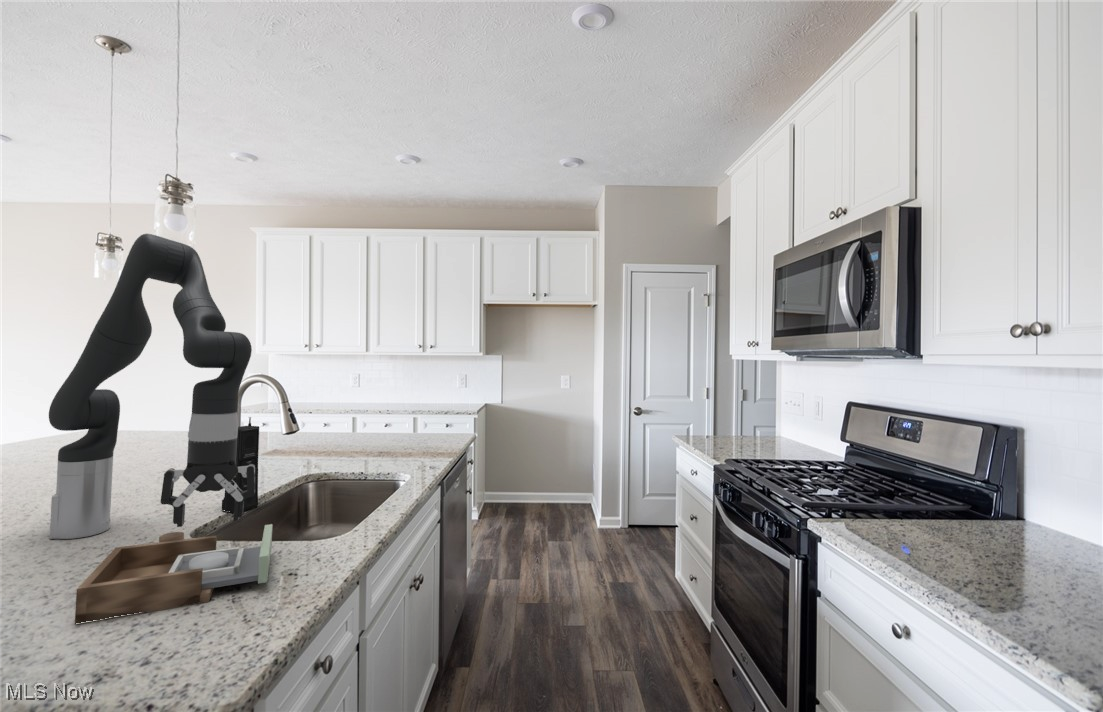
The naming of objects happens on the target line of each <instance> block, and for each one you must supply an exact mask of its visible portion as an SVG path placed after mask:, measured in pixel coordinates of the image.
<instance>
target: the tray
mask: <svg viewBox="0 0 1103 712" xmlns="http://www.w3.org/2000/svg"><path fill="white" fill-rule="evenodd" d="M272 542H273V524H272V523H270V524H264V529H263V534H262V540H261V544H260V546H255V547H248V548H246V547H245V545H244V546H237V547H229V548H222V549H216V550H213V551H205V552H197V553H190V554H182V555H178V557H177V558H176V560H175V562H174V563H173V565H172V567H171V569H170V570H169V572H168V573H172V572H179V571H186V570H189V561H190V560H191V559H192V558H194V557H196V556H199V555H202V554H206V553H212V552H225V553H227V554H228V565H227V566H226V567H224V568H217V569H211V570H204V571H202V590H203V589H209V588H214V589H215V588H221V587H225V586H226V587H227V586H232V585H239V584H240V585H241V584H245V583H251V582H257V584H264V583H268V578H269V577H268V576H269V570H270V562H271V561H270V560H271V554H272V553H271V552H272V547H273V546H272Z"/></svg>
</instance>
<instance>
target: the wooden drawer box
mask: <svg viewBox="0 0 1103 712" xmlns="http://www.w3.org/2000/svg"><path fill="white" fill-rule="evenodd" d="M217 536H218V535H209V536H200V537H193V538H184V539H183V540H174V541H166V542H159V541H158V542H157V541H156V542H151V543H150V542H149V543H144V544H143V543H142V544H134V545H125V546H115V548H114V549H113V550H112V551H111V552H110V553H109V554H108V555H107V556H106V557H105V558H104V559H103V561H101V562H100V563H99V564H98V566H97V567H96V568H95V569H94V570H93V571H91V573H90V575H88V576H87V577H86V578H85V580H84V581H83V582H82V583H81V584H80V585H79V586H78V587H77V588H76V593H75V594H76V597H75V613H74V615H75V616H74V625H75V624H76V623H81V622H86V621H93V620H100V619H105V618H109V617H114V616H121V615H127V614H134V613H139V612H146V613H149V612H148V611H152V612H157V611H156V610H158V611H163V610H168V609H173V608H174V607H175V608H180V607H185V606H192V605H198V604H202V603H203V604H204V603H208V602H210V600H211V597H212V595H213V592H214V589H215V588H209V589H203V590H202V571H203V568H200V569H193V570H186V571H179V572H172V573H168V572H169V570H170V569H171V567H172V565H173V563H174V562H175V560H176V558H177V557H178V555H182V554H190V553H197V552H205V551H213V550H217V539H218V537H217ZM100 621H101V620H100Z"/></svg>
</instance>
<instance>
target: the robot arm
mask: <svg viewBox="0 0 1103 712" xmlns="http://www.w3.org/2000/svg"><path fill="white" fill-rule="evenodd" d="M206 277H207V276H206V273H205V271H204V266H203V263H202V260H201V258H200V255H199V253H198V252H197V250H195V248H193V247H192V246H190V245H189V244H185V243H182V242H179V241H175V240H173V239H172V240H171V239H168V238H165V237H162V236H159V235H156V234H151V233H144V234H140V236H138V238H136V239H135V240H134V242H133V243H132V245H131V248H130V250H129V252H128V255H127V257H126V259H125V262H124V264H123V268H122V270H121V273H120V275H119V277H118V281H117V283H116V285H115V288H114V290H113V292H112V294H111V297H110V299H109V300H108V303H107V304H106V306H105V308H104V310H103V311H102V313H101V315H100V316H99V319H98V320H97V322H96V324H95V325H94V328H93V330H92V332H91V334H90V336H89V337H88V340H87V343H86V345H85V347H84V349H83V351H82V353H81V355H80V356H79V358H78V359H77V362H76V364H75V365H74V367H73V368H72V370H71V371H70V373H69V375H68V377H67V378H65V381H63V383H62V385H61V386H60V387H59V389H58V390H57V391H56V393H55V395H54V396H53V397H54V398H53V399H52V401H51V404H50V406H49V409H48V410H49V411H48V420H49V424H50V425H51V427H53V428H54V429H56V430H58V431H67V432H68V431H71V432H73V431H82V430H87V432H86V434H85V435H84V436H82V437H80V438H79V439H77V440H76V441H73V442H71V443H68V444H66V445H64V446H63V445H62V447H60V448H59V450H58V453H57V465H56V466H57V469H56V489H55V494H54V495H52V496H51V502H50V520H49V521H50V523H49V524H50V525H49V538H48V539H49V540H52V539H54V540H55V539H57V540H70V539H71V540H72V539H79V538H86V537H91V536H95V535H98V534H101V533H104V532H106V531H108V530H109V529H110V527H111V525H110V523H111V508H112V507H111V506H112V490H113V489H112V487H113V467H114V451H115V449H116V448H115V447H116V445H117V440H118V433H119V431H118V430H119V423H120V415H121V404H120V403H121V402H120V399H119V396H118V393H116V392H115V391H114V390H111V389H106V388H105V389H104V388H102V389H97V388H98V387H99V386H100V385H101V384H102V383H104V382H105V381H106V380H108V379H109V378H111V377H112V376H114V375H116V374H117V373H119V372H121V371H122V370H124V369H125V368H127V367H129V365H131V364H132V363H134V362H135V361H137V359H138V358H139V357H140V356H141V354H142V353H143V351H144V350H145V347H146V346H147V343H148V341H149V340H150V338H151V336H152V332H153V329H152V323H151V320H150V317H149V316H150V315H148V312H147V309H146V306H145V303H144V300H143V293H142V292H143V288H144V286H145V283H146V281H147V280H148V279H151V280H155V281H159V282H163V283H169V284H173V285H175V284H176V285H178V286H180V288H181V289H180V290H179V291H178V292H177V293H176V295H175V297H174V299H173V303H172V309H173V313H174V316H175V318H176V319H177V322H178V323H179V326H180V328H181V329H182V335H183V344H182V345H183V346H182V354H183V355H182V356H183V359H184V360H185V361H186V362H187V363H188V364H189V365H191V366H193V367H194V368H200V369H222V371H221V373H220V374H219V376H217V377H216V378H213V379H208V380H203V381H200V382H199V381H198V382H197V383H195V385H194V386H193V389H192V401H191V402H192V403H191V404H192V405H191V414H190V415H191V416H190V421H189V426H188V432H187V438H188V441H187V455H186V456H187V459H186V462H187V463H186V467H185V468H184V469H175V468H174V467H173V468H168V469H167V470H166V471H165V472H164V474H163V479H162V481H163V482H162V486H161V487H162V488H161V494H160V496H161V497H160V504H161V505H170V506H172V508H173V511H172V512H173V514H172V516H173V517H172V523H173V525H176V527H177V528H180V527H181V528H182V527H183V526H184V525H185V515H186V503H185V501H186V500H187V499H188V498H189V497H190V496H191V495H192V494H193V493H194V491H197V492H199V493H206V492H209V491H210V492H220V491H221V490H224V491H225V490H226V491H227V492H228V493H229V494H231V495H232V496H233V497H234V499H235V502H234V513H233V522H238V521H239V519H240V518H242V517H243V514H244V511H243V508H244V500H245V499H246V498H249V497H253V496H254V494H255V465H254V464H249V465H248V466H241V467H238V466H237V463H236V454H237V435H238V427H239V418H238V407H239V406H238V403H239V391H240V387H241V385H242V381H243V379H244V376H245V373H246V370H247V368H248V365H249V362H250V360H251V357H252V351H253V350H252V345H251V344H252V343H251V342H250V339H249V338H248V337H247V336H246V335H245V334H244V333H241V332H237V331H225V330H226V327H227V324H226V323H227V322H226V321H225V320H226V319H225V318H224V316H223V313H222V312H221V311H220V309H219V308H218V306H217V304H216V302H215V301H214V299H213V297H212V294H211V293H210V289H209V285H208V281H207V278H206ZM238 472H240V473H241V474H242V476H243V477H245V478H246V477H247V490H246V491H243V492H242V490H241V489H240V488H239V487H238V485H237V484H236V483H235V482H234V481H233V480H232V479H233V478H234V477H235V476H236V475H237V473H238ZM180 477H183V479H185V480H186V481H187V482H188V486H187V487H186V488H185V489H184V490H183V491H182V492H181V493H180V494H179V495H178V496H176V495H174V494H173V492H174V486H175V483H176V482H178V481H179V479H180Z"/></svg>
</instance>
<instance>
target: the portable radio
mask: <svg viewBox="0 0 1103 712" xmlns="http://www.w3.org/2000/svg"><path fill="white" fill-rule="evenodd" d="M248 418H249V421H248V423H247V424H248V425H242V426H238V435H237V454H236V463H237V466H238V467H241V466H248V465H249V464H254V465H255V494H254V496H253V497H249V498H246V499H245V500H244V508H243V512H245V511H248V510H251V509H254V508H257V507H258V505H259V450H260V449H259V447H260V446H259V445H260V426H257V425H252V423H251V419H252V417H251V416H248ZM232 480H233V481H234V482H235V483H236V484H237V485H238V487H239V488H240V489H241V490H242V492H243V491H246V490H247V477H246V478H245V477H243V476H242V474H241V473H240V472H238V473H237V475H236V476H235V477H234V478H233V479H232ZM234 502H235V499H234V497H233V496H232V495H231V494H229V493H228V492H227V491H226V490H225V489H224V497H223V499H222V500H221V511H222V510H225V511H230V512H232V513H233V514H234ZM230 512H229V513H230ZM232 513H231V514H232Z"/></svg>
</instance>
